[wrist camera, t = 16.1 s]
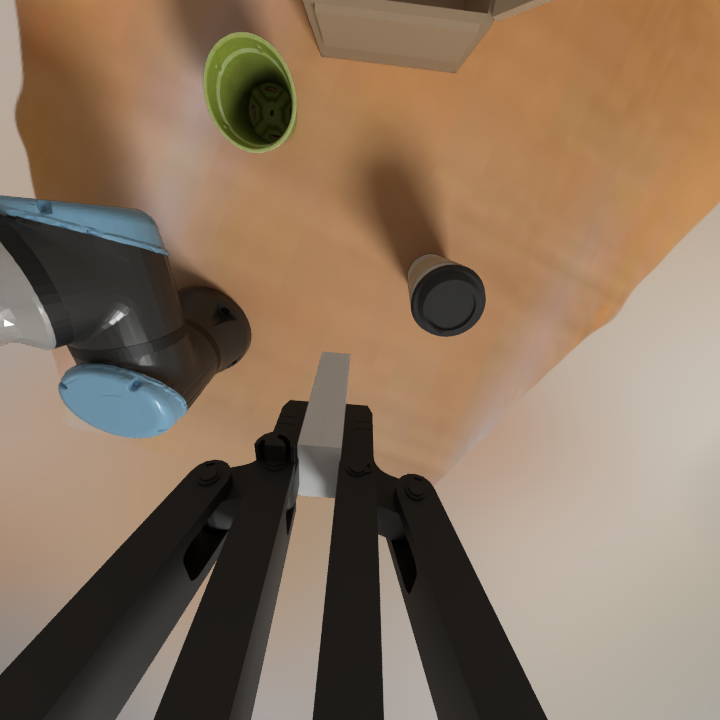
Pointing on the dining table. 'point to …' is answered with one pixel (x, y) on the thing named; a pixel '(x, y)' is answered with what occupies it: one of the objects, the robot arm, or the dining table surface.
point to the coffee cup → (444, 295)
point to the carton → (401, 30)
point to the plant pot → (249, 92)
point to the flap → (513, 7)
